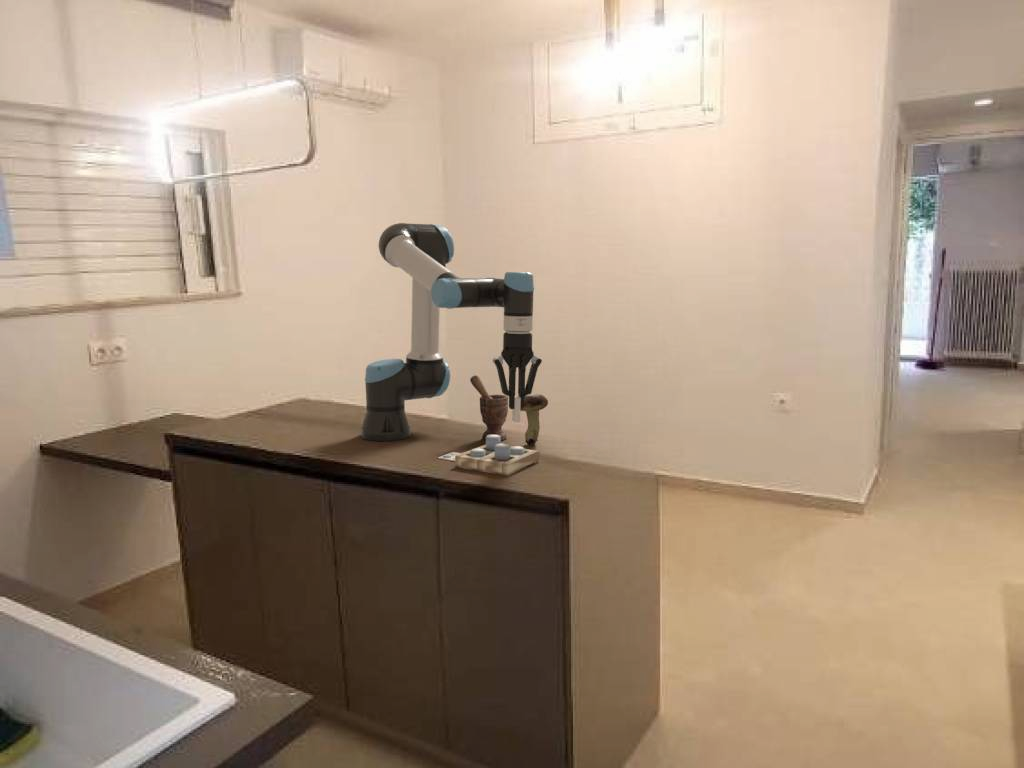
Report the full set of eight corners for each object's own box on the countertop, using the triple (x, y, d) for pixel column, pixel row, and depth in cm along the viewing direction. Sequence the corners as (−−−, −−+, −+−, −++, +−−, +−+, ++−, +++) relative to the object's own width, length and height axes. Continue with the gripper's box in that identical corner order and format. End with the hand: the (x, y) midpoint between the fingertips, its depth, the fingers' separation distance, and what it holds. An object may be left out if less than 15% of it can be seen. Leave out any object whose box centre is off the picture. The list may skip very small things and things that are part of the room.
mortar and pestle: (486, 445, 211) (486, 378, 208) (466, 440, 216) (466, 375, 213) (513, 438, 219) (513, 374, 216) (493, 434, 225) (493, 371, 222)
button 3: (491, 459, 183) (491, 445, 183) (499, 456, 187) (499, 442, 186) (504, 461, 181) (504, 447, 181) (512, 458, 185) (512, 444, 184)
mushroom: (553, 444, 212) (554, 394, 209) (534, 450, 205) (535, 398, 203) (529, 439, 218) (529, 391, 215) (510, 444, 211) (510, 394, 209)
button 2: (483, 449, 194) (483, 436, 193) (490, 446, 197) (490, 433, 196) (495, 451, 192) (495, 438, 191) (503, 448, 195) (503, 435, 194)
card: (437, 458, 195) (437, 457, 195) (452, 453, 201) (452, 451, 201) (459, 462, 192) (459, 460, 192) (473, 456, 198) (473, 455, 198)
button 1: (467, 464, 188) (467, 450, 187) (475, 460, 191) (475, 447, 190) (480, 466, 186) (480, 452, 185) (488, 463, 189) (488, 449, 188)
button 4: (506, 461, 190) (506, 448, 190) (514, 458, 194) (514, 445, 193) (519, 464, 188) (519, 450, 188) (527, 460, 191) (527, 447, 191)
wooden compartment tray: (455, 466, 187) (455, 455, 186) (488, 453, 200) (488, 443, 200) (507, 476, 179) (507, 464, 178) (538, 461, 192) (538, 450, 192)
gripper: (496, 333, 180) (495, 424, 184) (546, 333, 183) (543, 423, 188) (490, 330, 187) (489, 418, 191) (538, 330, 191) (535, 416, 195)
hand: (516, 420), depth 189 cm, fingers closed
